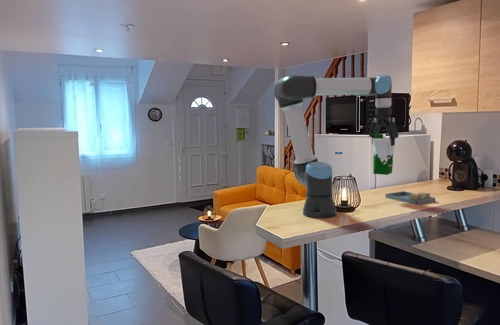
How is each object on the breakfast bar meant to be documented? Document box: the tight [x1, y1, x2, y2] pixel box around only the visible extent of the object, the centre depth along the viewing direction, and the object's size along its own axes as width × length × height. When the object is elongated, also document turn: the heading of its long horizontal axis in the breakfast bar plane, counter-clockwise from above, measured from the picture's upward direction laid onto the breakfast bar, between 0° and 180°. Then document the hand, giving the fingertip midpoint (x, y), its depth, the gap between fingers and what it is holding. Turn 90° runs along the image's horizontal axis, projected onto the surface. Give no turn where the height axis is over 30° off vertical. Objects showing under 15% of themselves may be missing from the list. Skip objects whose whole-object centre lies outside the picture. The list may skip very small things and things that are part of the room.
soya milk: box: [372, 133, 394, 176], centre depth 192 cm, size 9×9×20 cm
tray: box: [385, 190, 436, 206], centre depth 195 cm, size 13×20×2 cm, turn 25°
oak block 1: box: [409, 192, 421, 201], centre depth 188 cm, size 4×4×4 cm
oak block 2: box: [417, 191, 431, 200], centre depth 190 cm, size 4×4×4 cm
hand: (383, 151), depth 192 cm, fingers closed on soya milk, 10 cm apart
